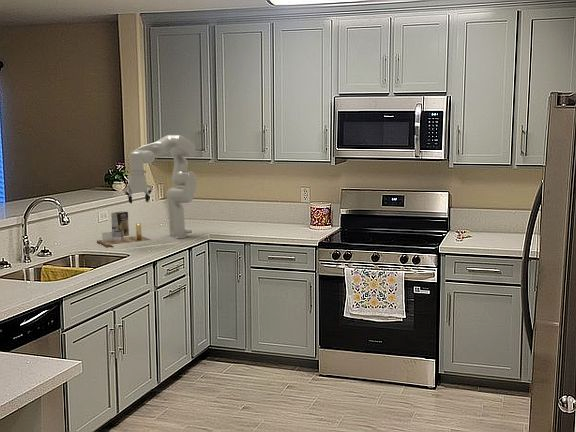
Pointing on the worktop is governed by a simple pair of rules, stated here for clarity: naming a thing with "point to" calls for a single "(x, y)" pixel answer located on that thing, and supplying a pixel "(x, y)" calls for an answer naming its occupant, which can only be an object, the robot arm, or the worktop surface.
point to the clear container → (113, 236)
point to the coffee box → (120, 222)
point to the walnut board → (126, 240)
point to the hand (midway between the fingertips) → (138, 202)
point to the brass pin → (138, 231)
